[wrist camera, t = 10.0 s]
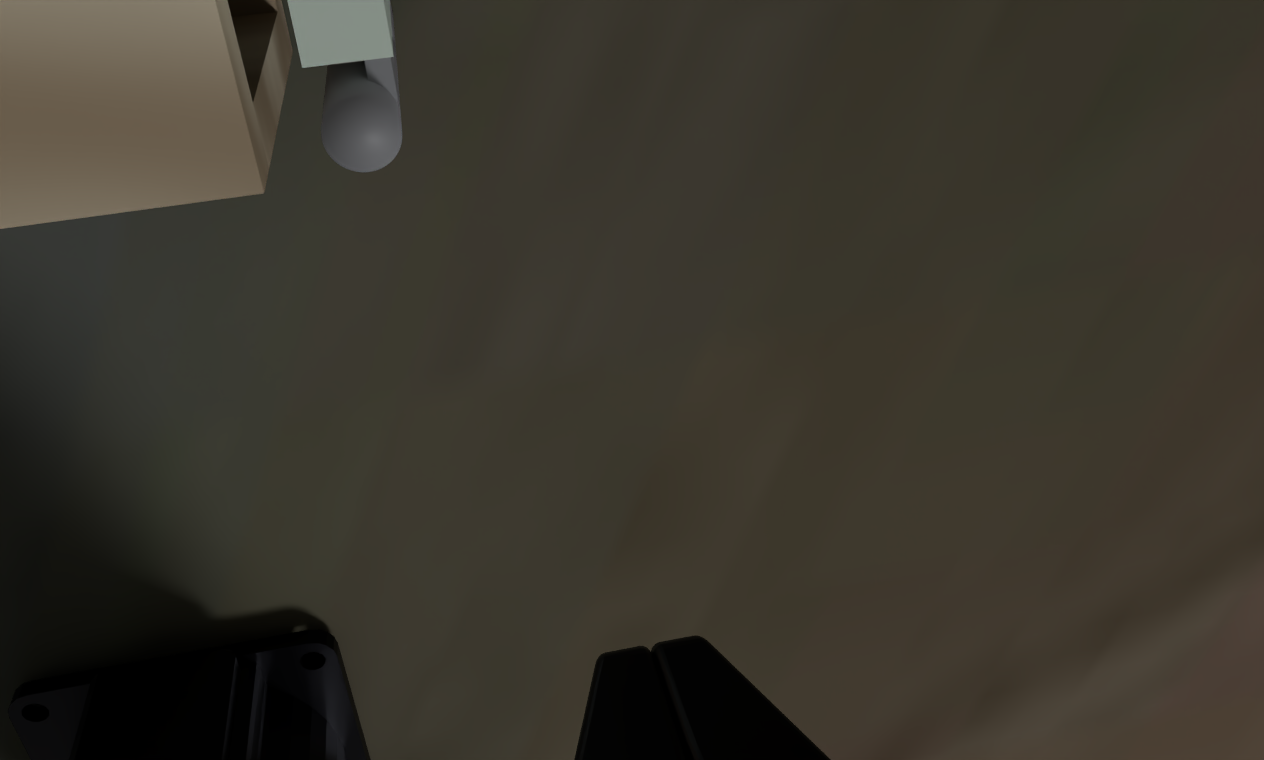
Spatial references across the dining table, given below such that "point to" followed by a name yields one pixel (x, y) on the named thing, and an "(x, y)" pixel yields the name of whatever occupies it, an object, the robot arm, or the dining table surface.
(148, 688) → the robot arm
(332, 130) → the door
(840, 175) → the dining table surface
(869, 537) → the dining table surface
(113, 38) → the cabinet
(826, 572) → the dining table surface
